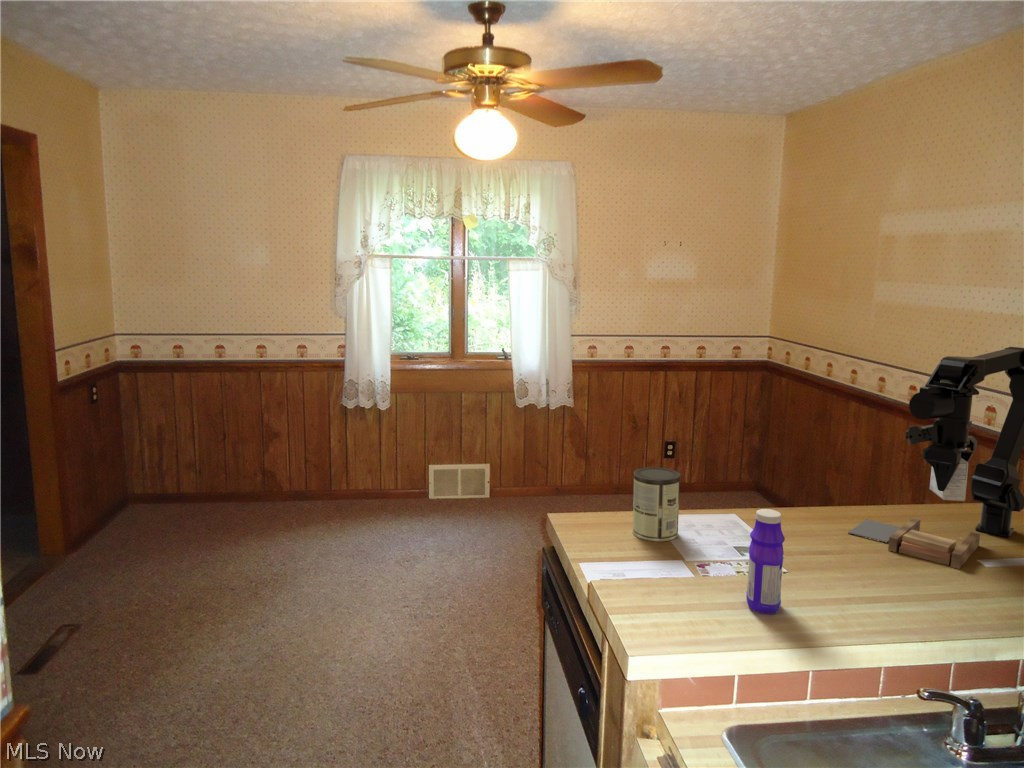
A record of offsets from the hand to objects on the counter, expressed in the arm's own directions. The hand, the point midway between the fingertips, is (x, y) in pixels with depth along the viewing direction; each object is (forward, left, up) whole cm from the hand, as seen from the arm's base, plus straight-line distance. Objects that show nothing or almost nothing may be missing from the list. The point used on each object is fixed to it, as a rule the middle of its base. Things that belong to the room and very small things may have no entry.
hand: (946, 486), depth 148 cm
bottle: (+57, -14, -13) cm, 60 cm away
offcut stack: (+10, 0, -13) cm, 16 cm away
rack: (+5, 0, -13) cm, 14 cm away
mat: (+4, -12, -13) cm, 18 cm away
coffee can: (+41, -47, -13) cm, 64 cm away
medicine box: (0, 0, -2) cm, 2 cm away
